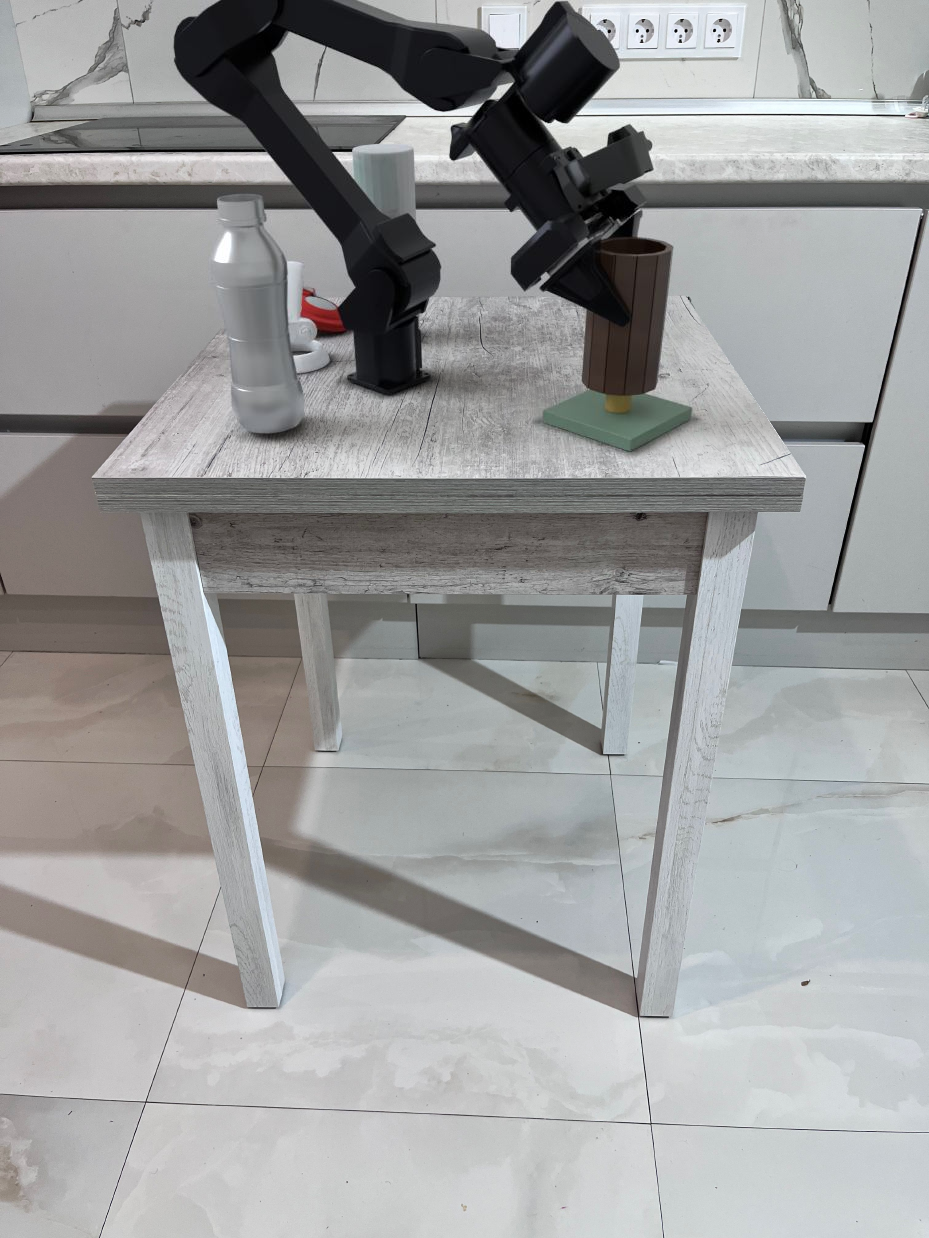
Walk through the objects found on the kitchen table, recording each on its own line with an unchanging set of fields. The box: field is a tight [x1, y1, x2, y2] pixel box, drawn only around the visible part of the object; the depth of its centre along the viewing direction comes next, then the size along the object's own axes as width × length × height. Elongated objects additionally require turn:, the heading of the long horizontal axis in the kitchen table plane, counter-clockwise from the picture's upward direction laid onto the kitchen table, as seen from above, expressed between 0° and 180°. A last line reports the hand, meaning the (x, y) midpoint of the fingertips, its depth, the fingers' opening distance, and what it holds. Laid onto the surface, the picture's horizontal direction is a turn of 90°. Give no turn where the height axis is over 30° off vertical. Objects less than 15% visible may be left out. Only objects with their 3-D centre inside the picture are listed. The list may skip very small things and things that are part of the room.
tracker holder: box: [300, 284, 347, 333], centre depth 113 cm, size 12×4×10 cm
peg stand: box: [542, 389, 693, 452], centre depth 87 cm, size 10×10×5 cm
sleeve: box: [581, 236, 674, 396], centre depth 83 cm, size 7×7×12 cm
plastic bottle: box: [208, 193, 306, 434], centre depth 82 cm, size 6×7×20 cm
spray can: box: [351, 143, 420, 323], centre depth 104 cm, size 6×6×20 cm
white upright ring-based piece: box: [286, 260, 331, 374], centre depth 102 cm, size 8×12×7 cm
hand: (640, 312), depth 82 cm, fingers closed on sleeve, 7 cm apart
